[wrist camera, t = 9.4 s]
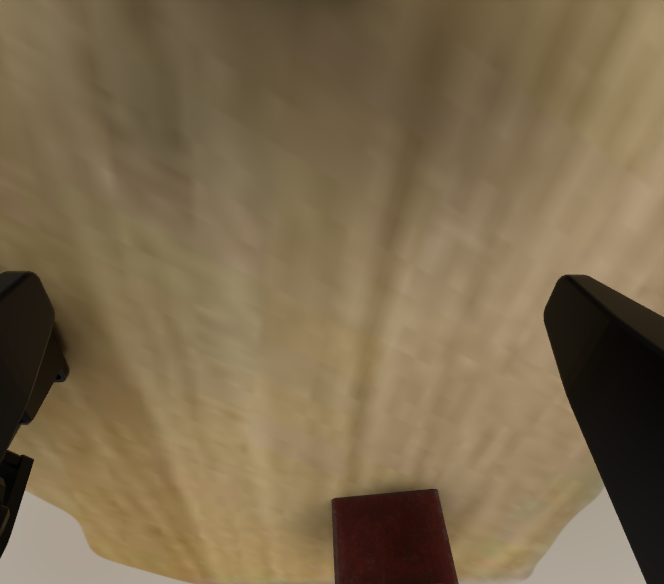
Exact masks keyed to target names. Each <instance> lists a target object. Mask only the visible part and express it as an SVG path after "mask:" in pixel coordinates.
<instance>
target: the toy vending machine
mask: <svg viewBox="0 0 664 584" xmlns="http://www.w3.org/2000/svg"><path fill="white" fill-rule="evenodd" d="M332 521H333V547H334V572H335V584H458V579H457V575H456V570H455V566H454V561H453V557H452V553H451V548H450V544H449V539H448V535H447V530H446V526H445V521H444V517H443V513H442V508H441V504H440V499H439V495H438V491H437V490H436V489H431V490H420V491H410V492H399V493H388V494H377V495H367V496H356V497H345V498H335V499H332Z"/></svg>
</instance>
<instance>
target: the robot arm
mask: <svg viewBox="0 0 664 584" xmlns="http://www.w3.org/2000/svg"><path fill="white" fill-rule="evenodd" d="M54 319H55V313H54V308H53V306H52V304H51V302H50V299H49V297H48V295H47V293H46V291H45V289H44V287H43V284H42V282H41V280H40V278H39V277H38V276H37V275H36V274H35V273H33V272H30V271H7V272H4V273H1V274H0V558H1V556H2V554H3V552H4V550H5V548H6V546H7V543H8V541H9V538H10V535H11V532H12V529H13V526H14V523H15V519H16V516H17V513H18V510H19V507H20V503H21V500H22V497H23V494H24V491H25V487H26V484H27V481H28V478H29V475H30V471H31V468H32V465H33V462H34V459H32V458H30V457H28V456H26V455H21V456H20V455H18V454H16V453H13V452H11V451H9V450H7V449H8V447H9V445H10V444H11V442H12V440H13V438H14V437H15V435H16V433H17V431H18V429H19V428H20V426H21V425H28V424H29V423H30V422H31V421H32V420H33V419H34V417H35V415H36V414H37V412H38V410H39V408H40V406H41V404H42V403H43V401H44V399H45V397H46V395H47V394H48V392H49V390H50V388H51V386H52V384H53V383H54V382H63V381H65V380H66V378H67V376H68V374H69V372H68V369H67V367H66V365H65V361H64V358H63V356H62V354H61V351H60V349H59V347H58V345H57V342H56V340H55V338H54V335H53V333H52V327H53V324H54ZM544 323H545V327H546V330H547V333H548V337H549V340H550V343H551V347H552V350H553V354H554V357H555V360H556V364H557V367H558V370H559V374H560V377H561V380H562V383H563V386H564V389H565V392H566V395H567V398H568V400H569V403H570V405H571V408H572V410H573V412H574V415H575V417H576V419H577V422H578V424H579V426H580V429H581V431H582V433H583V436H584V438H585V440H586V443H587V445H588V448H589V450H590V452H591V455H592V457H593V459H594V462H595V464H596V466H597V469H598V471H599V473H600V476H601V478H602V480H603V483H604V485H605V487H606V489H607V492H608V494H609V497H610V499H611V501H612V503H613V506H614V508H615V511H616V513H617V515H618V517H619V520H620V522H621V525H622V527H623V529H624V532H625V534H626V536H627V539H628V541H629V543H630V546H631V548H632V550H633V553H634V555H635V558H636V560H637V562H638V564H639V566H640V569H641V572H642V574H643V576H644V578H645V581H646V583H647V584H664V317H663V316H661V315H659V314H657V313H655V312H653V311H652V310H650V309H648V308H646V307H644V306H643V305H641V304H639V303H637V302H635V301H633V300H632V299H630V298H628V297H626V296H624V295H622V294H621V293H619V292H617V291H615V290H613V289H611V288H610V287H608V286H606V285H604V284H602V283H601V282H599V281H597V280H595V279H593V278H591V277H589V276H587V275H564V276H562V277H560V278H559V279H558V281H557V283H556V285H555V287H554V289H553V292H552V294H551V296H550V298H549V300H548V303H547V305H546V307H545V310H544Z"/></svg>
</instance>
